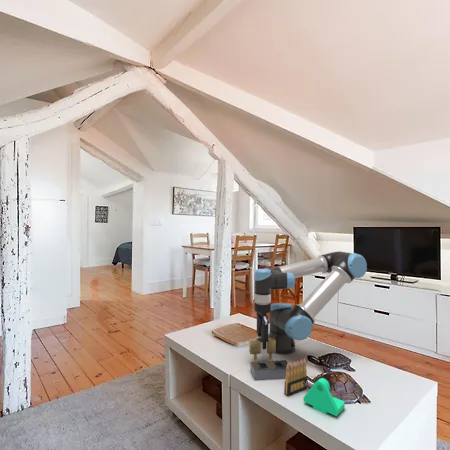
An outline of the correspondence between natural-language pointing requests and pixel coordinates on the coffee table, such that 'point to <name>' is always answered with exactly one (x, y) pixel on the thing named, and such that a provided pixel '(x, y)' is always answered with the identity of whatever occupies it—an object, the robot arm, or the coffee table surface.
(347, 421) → the coffee table surface
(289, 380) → the ammunition clip
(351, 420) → the coffee table surface
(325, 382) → the camera mount
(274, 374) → the grey block with holes
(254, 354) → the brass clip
